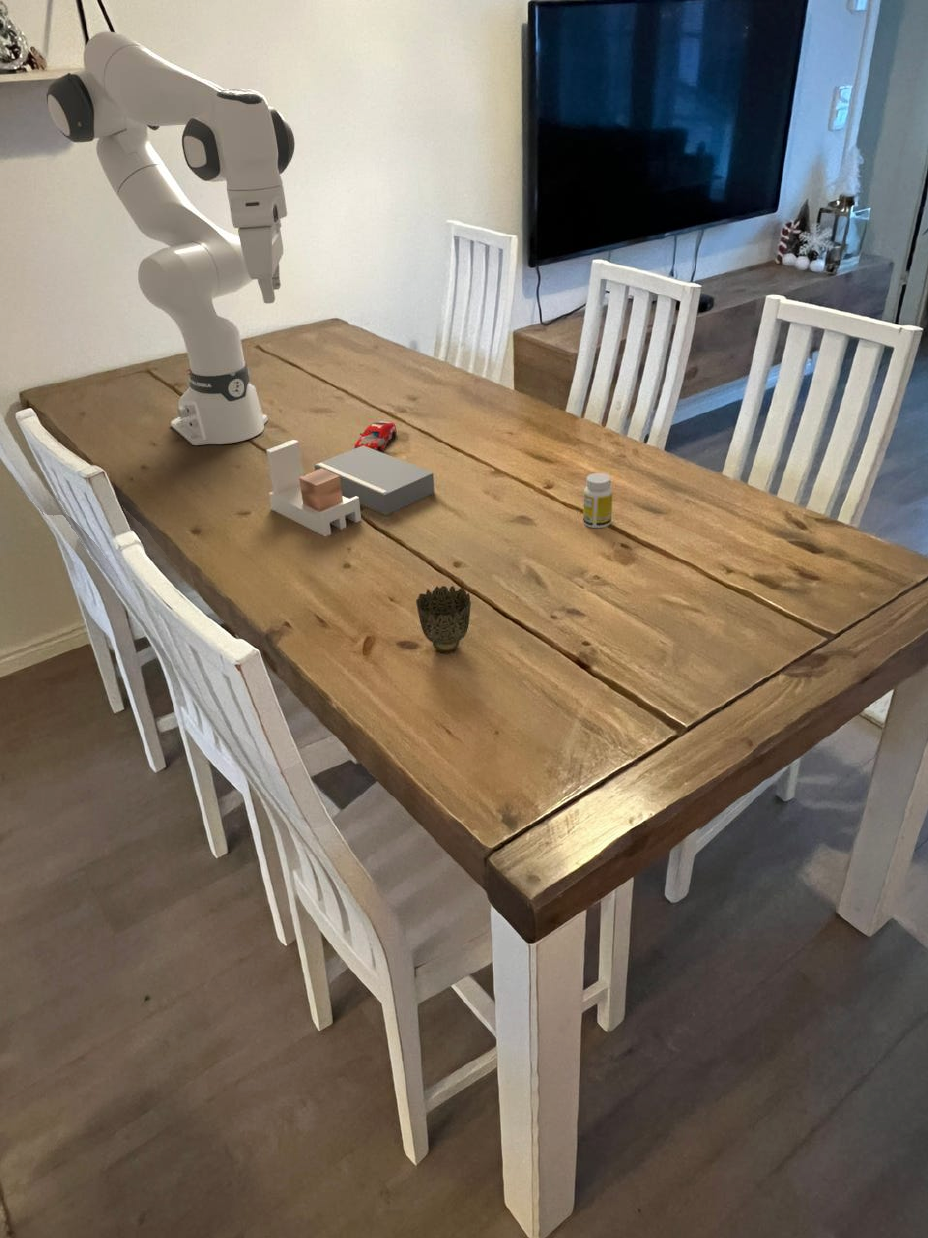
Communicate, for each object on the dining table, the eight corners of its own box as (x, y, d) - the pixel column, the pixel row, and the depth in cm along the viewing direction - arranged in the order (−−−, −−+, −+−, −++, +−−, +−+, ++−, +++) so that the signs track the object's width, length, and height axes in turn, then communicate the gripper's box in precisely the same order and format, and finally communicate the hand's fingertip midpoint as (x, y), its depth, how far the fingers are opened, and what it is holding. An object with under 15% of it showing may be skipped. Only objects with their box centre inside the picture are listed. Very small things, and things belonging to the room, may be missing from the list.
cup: (418, 634, 129) (415, 587, 125) (470, 630, 130) (468, 582, 125) (421, 665, 123) (417, 616, 119) (475, 660, 124) (473, 612, 119)
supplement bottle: (613, 518, 157) (615, 473, 152) (607, 530, 153) (610, 485, 148) (586, 514, 158) (587, 470, 153) (580, 527, 154) (581, 482, 150)
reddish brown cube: (303, 503, 159) (298, 477, 156) (325, 494, 162) (321, 468, 159) (320, 511, 156) (316, 485, 153) (343, 501, 159) (339, 475, 156)
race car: (375, 460, 182) (373, 441, 180) (351, 457, 184) (348, 438, 182) (401, 434, 192) (399, 417, 190) (378, 432, 194) (376, 414, 192)
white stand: (271, 510, 165) (261, 451, 159) (306, 495, 169) (298, 437, 163) (325, 537, 155) (317, 476, 149) (361, 520, 160) (354, 461, 154)
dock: (317, 484, 173) (314, 463, 171) (365, 463, 180) (363, 444, 177) (385, 515, 161) (383, 494, 159) (434, 492, 168) (433, 471, 165)
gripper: (246, 197, 153) (261, 282, 161) (229, 218, 136) (246, 311, 144) (284, 195, 154) (296, 279, 161) (271, 215, 136) (286, 309, 144)
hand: (272, 295), depth 152 cm, fingers open, 8 cm apart
